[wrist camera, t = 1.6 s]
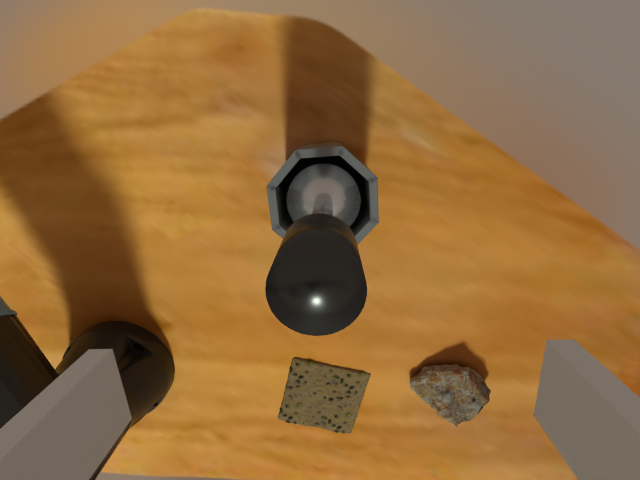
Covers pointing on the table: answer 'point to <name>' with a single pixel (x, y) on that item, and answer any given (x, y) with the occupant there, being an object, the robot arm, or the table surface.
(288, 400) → the grey porous flat square
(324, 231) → the plunger
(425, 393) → the rock
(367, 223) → the press carafe
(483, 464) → the table surface
